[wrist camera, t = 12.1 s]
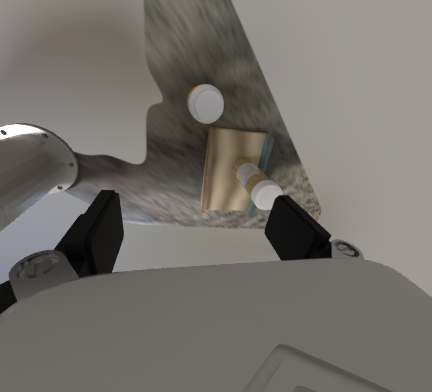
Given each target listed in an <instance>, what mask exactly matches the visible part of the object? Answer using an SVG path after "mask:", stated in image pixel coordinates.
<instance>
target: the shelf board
mask: <svg viewBox="0 0 432 392" xmlns="http://www.w3.org/2000/svg"><path fill="white" fill-rule="evenodd" d="M274 140H275V137H273V136H270V135H268V134H266V133H260V132H251V131H243V130H234V129H225V128H217V127H209V133H208V142H207V151H206V160H205V169H204V177H203V186H202V195H201V204H200V206H201V211H202V213H206V210H247V212H248V213H249V215H250V216H253V215H254V212H255V208H256V205H255V204H254V203H253V201H252V199H251V196H250V195H249V194H248V193H247V192H246V190H245V189H244V187H243V186H242V184H241V183H240V182H239V180H238V179H237V177H236V176H235V175H234V174H233V171H232V167H233V164H234V162H235V161H236V160H238V159H239V158H248V159H249V160H251V162H252V163H253V164H254V165H256V166H257V167H258V168H259V169H260V170H261V171H262V172H263V173H264V174H265V173H266V169H267V165H268V162H269V158H270V155H271V151H272V148H273V144H274Z"/></svg>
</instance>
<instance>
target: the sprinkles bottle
mask: <svg viewBox="0 0 432 392" xmlns="http://www.w3.org/2000/svg"><path fill="white" fill-rule="evenodd" d="M232 171H233V174H234V175H235V176H236V177H237V179H238V180H239V182H240V183H241V184H242V186H243V187H244V189H245V190H246V192H247V193H248V194H249V195H250V196H251V199H252V201H253V203H254V204H255V205H256V206H257V207H258V208H259V209H261V210H270V209H272V206H273V203H274V200H275V198H276V197H278V196H279V195H283V193H282V189H281V188H280V187H279V186H278V185H277V184H276V183H275V182H274V181H271V180H270V179H269V178H268V177H267V176H266V175H265V174H264V173H263V172H262V171H261V170H260V169H259V168H258V167H257V166H256V165H254V164H253V163H252V162H251V160H249V159H248V158H239V159H238V160H236V161H235V162H234V164H233V167H232Z"/></svg>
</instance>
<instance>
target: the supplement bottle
mask: <svg viewBox="0 0 432 392" xmlns="http://www.w3.org/2000/svg"><path fill="white" fill-rule="evenodd" d="M186 103H187V108H188V110H189V112H190V113H191V115H192V116H193V117H194V118H195V119H196V120H197V121H199V122H201V123H204V124H209V123H213V122H215V121H216V120H217V119H218V118H219V117H220V116H221V114H222V112H223V109H224V100H223V97H222V94H221V93H220V91H219V90H218V89H217V88H216V87H214V86H212V85H209V84H202V85H197V86H195V87H193V88H192V89H191V90H190V91H189V93H188V95H187V99H186Z"/></svg>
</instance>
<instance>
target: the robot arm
mask: <svg viewBox="0 0 432 392" xmlns="http://www.w3.org/2000/svg"><path fill="white" fill-rule="evenodd" d="M47 135H48V136H47ZM72 163H73V164H72ZM78 174H79V164H78V160H77V158H76V155H75V154H74V152H73V150H72V149H71V148H70V147H69V146H68V144H67V143H66V142H65V141H64V140H62V139H61V138H60V137H58V136H57V135H56V134H54V133H53V132H51V131H49V130H47V129H45V128H42V127H39V126H36V125H31V124H25V123H16V124H10V125H6V126H2V127H0V231H2V230H3V229H4V228H5V227H7V226H8V225H9V224H10V223H11V222H13V221H14V220H15V219H16V218H18V217H19V216H20V215H21V214H22V213H24V212H25V211H26V210H27V209H28V208H30V207H31V206H32V205H33V204H35V203H36V202H37V201H38V200H40V199H41V198H42V197H43V196H44V195H46V194H55V193H59V192H62V191H64V190H66V189H68V188H69V187H70V186H71V185H72V184H73V183H74V182H75V181H76V179H77V177H78ZM265 235H266V237H267V238H268V240H269V241H270V243H271V245H272V246H273V248H274V249H275V251H276V253H277V254H278V256H279V258H280V259H281V261H269V262H253V263H237V264H222V265H206V266H191V267H176V268H161V269H147V270H133V271H123V272H114V273H112V270H113V267H114V264H115V261H116V258H117V255H118V253H119V250H120V247H121V244H122V241H123V237H124V230H123V222H122V214H121V206H120V198H119V193H115V191H114V190H101V191H100V193H99V194H98V195H97V197H96V198H95V200H94V201H93V202H92V204H91V205H90V207H89V208H88V209H87V211H86V212H85V213H84V214H81V215H80V216H79V217H78V218H77V219H76V221H75V222H74V223H73V225H72V226H71V227H70V229H69V230H68V231H67V233H66V234H65V236H64V237H63V238H62V239H61V241H60V242H59V243H58V245H57V246H56V247H55V249H54V250H45V251H40V252H36V253H34V254H31V255H29V256H27V257H25V258H23V259H22V260H20V261H19V262H17V263H16V264H15V265H14V266H13V267H12V268H11V270H10V272H9V281H6V282H4V283H2V284H0V392H432V297H431V296H429V295H428V294H427V293H425V292H424V291H423V290H422V289H420V288H419V287H418V286H416V285H415V284H414V283H413V282H411V281H410V280H409V279H407V278H406V277H405V276H403V275H402V274H400V273H399V272H397V271H396V270H394V269H392V268H390V267H388V266H385V265H383V264H380V263H376V262H373V261H368V260H364V257H363V254H362V252H361V251H360V250H359V249H358V248H357V247H355V246H354V245H352V244H350V243H348V242H346V241H343V240H333V241H332V242H330V241H329V239H330V237H331V235H330V234H329V233H328V232H327V231H326V230H325V229H324V228H323V227H322V226H321V225H320V224H319V223H317V222H316V221H315V220H314V219H313V218H312V217H311V216H310V215H309V214H308V213H307V212H306V211H305V210H303V209H302V208H301V207H300V206H299V205H298V204H297V203H296V202H295V201H294V200H293V199H292V198H290V197H289V196H288V195H279V196H278V197H276V198H275V200H274V203H273V206H272V209H271V212H270V215H269V218H268V221H267V224H266V227H265Z"/></svg>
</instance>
